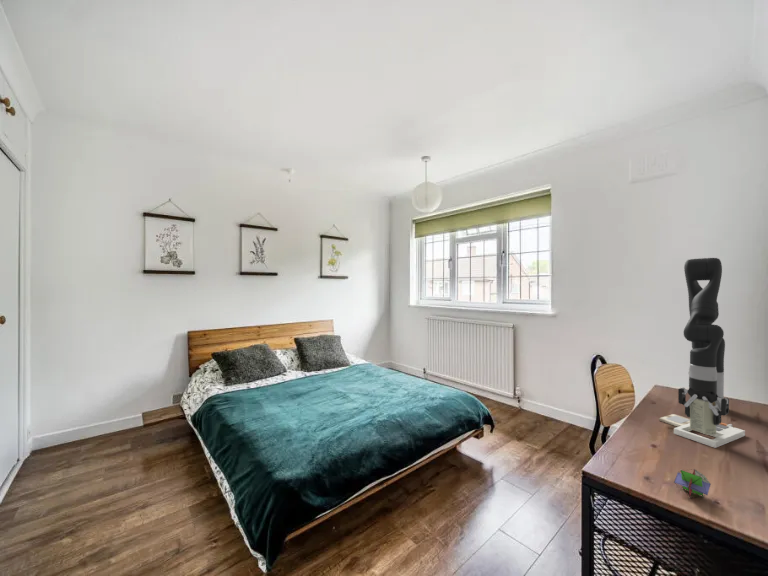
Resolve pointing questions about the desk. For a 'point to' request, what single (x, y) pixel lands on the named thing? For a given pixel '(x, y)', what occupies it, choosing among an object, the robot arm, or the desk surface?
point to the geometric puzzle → (693, 482)
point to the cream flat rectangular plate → (675, 420)
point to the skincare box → (702, 417)
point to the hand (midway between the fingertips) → (702, 420)
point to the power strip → (722, 435)
